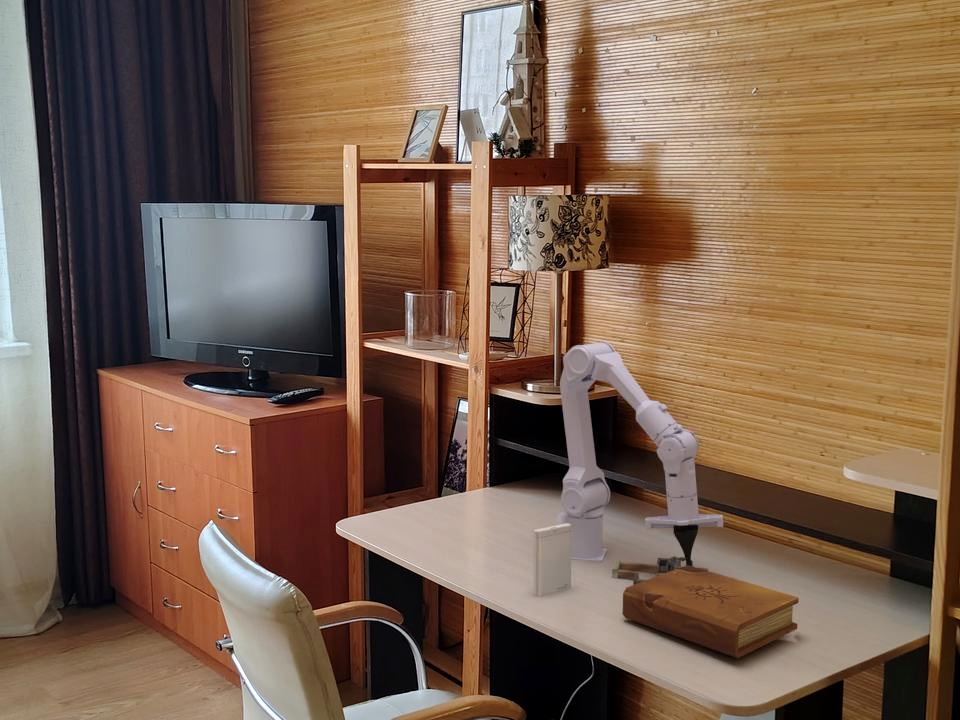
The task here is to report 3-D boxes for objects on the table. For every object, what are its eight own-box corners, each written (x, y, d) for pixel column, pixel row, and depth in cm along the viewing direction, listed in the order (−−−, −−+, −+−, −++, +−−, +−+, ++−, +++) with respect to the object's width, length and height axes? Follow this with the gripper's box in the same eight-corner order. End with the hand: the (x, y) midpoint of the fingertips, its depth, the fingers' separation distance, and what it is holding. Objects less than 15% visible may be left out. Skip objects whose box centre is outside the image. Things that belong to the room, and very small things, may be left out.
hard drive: (572, 589, 199) (572, 524, 197) (537, 597, 194) (538, 532, 193) (566, 586, 200) (567, 522, 199) (532, 595, 195) (532, 530, 194)
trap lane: (609, 586, 200) (609, 576, 200) (618, 562, 215) (618, 552, 214) (706, 594, 196) (706, 583, 196) (708, 568, 210) (709, 558, 210)
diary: (622, 620, 184) (622, 588, 184) (686, 594, 197) (687, 564, 196) (735, 659, 168) (736, 624, 167) (797, 628, 180) (798, 596, 179)
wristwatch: (665, 581, 205) (665, 557, 204) (688, 577, 207) (688, 553, 206) (673, 587, 202) (674, 562, 201) (696, 583, 204) (697, 558, 203)
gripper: (641, 500, 200) (647, 571, 200) (720, 497, 196) (725, 569, 197) (644, 492, 206) (650, 561, 207) (720, 489, 203) (726, 559, 204)
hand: (687, 564), depth 203 cm, fingers closed, pressing on wristwatch
